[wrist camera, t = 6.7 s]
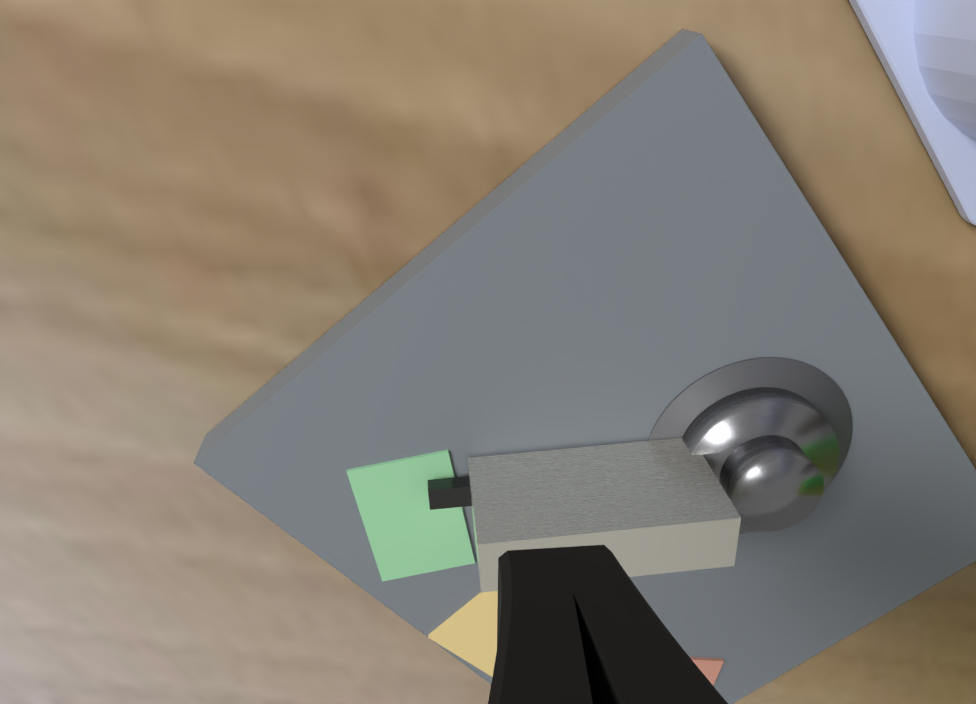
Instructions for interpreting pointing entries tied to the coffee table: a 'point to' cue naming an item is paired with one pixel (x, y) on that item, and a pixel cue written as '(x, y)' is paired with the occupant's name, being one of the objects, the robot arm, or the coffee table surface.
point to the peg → (655, 488)
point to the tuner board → (616, 383)
